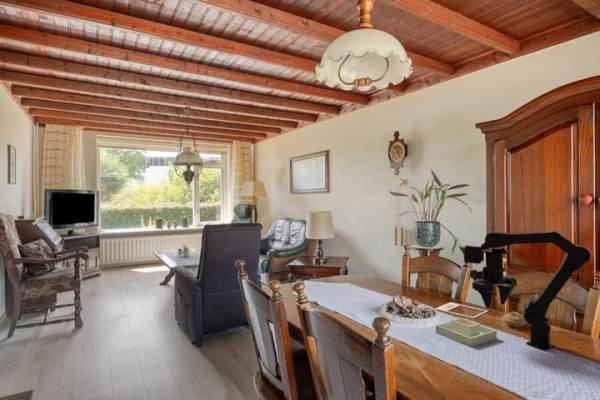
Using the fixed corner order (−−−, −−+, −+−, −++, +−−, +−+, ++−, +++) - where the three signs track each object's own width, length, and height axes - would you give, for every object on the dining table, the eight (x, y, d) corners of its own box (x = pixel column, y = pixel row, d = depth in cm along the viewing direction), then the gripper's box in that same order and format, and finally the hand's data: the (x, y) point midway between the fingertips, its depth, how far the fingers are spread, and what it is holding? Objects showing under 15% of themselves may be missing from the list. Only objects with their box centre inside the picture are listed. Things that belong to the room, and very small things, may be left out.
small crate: (461, 328, 138) (461, 317, 138) (480, 335, 131) (479, 323, 131) (451, 331, 135) (451, 320, 135) (469, 338, 128) (469, 326, 128)
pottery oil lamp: (526, 320, 148) (532, 308, 144) (522, 338, 139) (528, 325, 136) (503, 310, 152) (509, 298, 149) (498, 327, 143) (504, 314, 140)
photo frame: (450, 301, 175) (487, 310, 161) (450, 304, 175) (487, 312, 161) (435, 307, 166) (473, 317, 152) (435, 310, 166) (473, 319, 152)
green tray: (460, 325, 144) (460, 318, 144) (496, 338, 130) (496, 330, 130) (435, 332, 137) (435, 325, 137) (471, 347, 123) (471, 338, 123)
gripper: (489, 259, 142) (490, 297, 142) (459, 264, 134) (460, 304, 134) (517, 263, 132) (518, 304, 132) (486, 268, 124) (487, 312, 124)
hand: (495, 306), depth 131 cm, fingers open, 9 cm apart
